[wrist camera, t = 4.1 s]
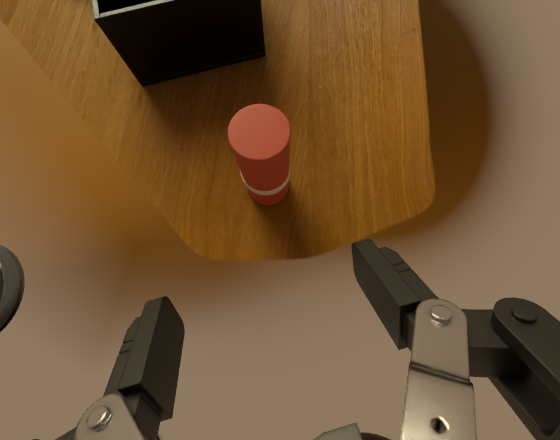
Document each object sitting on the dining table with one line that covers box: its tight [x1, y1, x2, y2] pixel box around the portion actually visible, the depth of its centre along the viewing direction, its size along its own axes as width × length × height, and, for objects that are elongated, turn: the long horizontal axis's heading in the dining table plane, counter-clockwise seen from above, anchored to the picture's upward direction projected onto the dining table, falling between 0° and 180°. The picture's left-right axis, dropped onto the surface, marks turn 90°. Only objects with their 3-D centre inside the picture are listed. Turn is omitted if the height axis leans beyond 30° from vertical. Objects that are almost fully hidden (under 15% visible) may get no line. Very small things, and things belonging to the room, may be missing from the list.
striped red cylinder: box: [228, 104, 291, 205], centre depth 27 cm, size 5×5×12 cm
